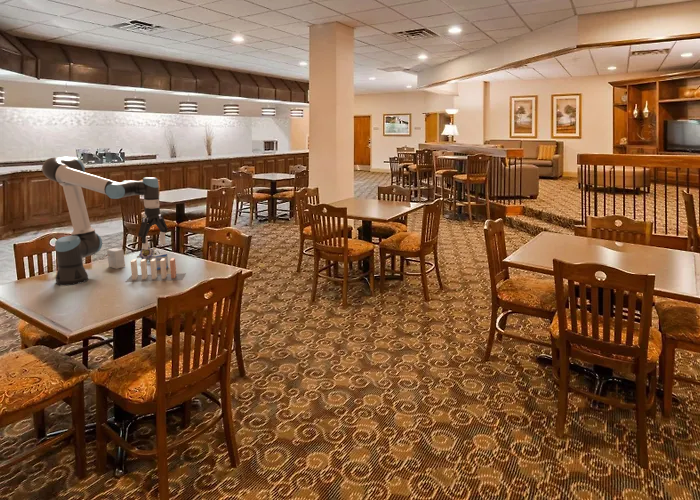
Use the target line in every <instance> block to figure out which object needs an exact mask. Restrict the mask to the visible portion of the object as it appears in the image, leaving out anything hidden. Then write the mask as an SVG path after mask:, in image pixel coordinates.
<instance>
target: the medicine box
mask: <svg viewBox="0 0 700 500" xmlns="http://www.w3.org/2000/svg"><path fill="white" fill-rule="evenodd" d="M156 254H157V255H152V256H151V260H152V259H156V267H157V271H161V266H160V260H161V259H162V258H165V259H166V269H168V268H169V259H168V253H165V252H164V253H163V252H162V253H161V252H160V254H159V253H156Z"/></svg>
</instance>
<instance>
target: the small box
mask: <svg viewBox="0 0 700 500" xmlns="http://www.w3.org/2000/svg"><path fill="white" fill-rule="evenodd" d="M106 253H107V254H106V255H107V262H108V263H107V264H108V267H109V268H113V269H116V270H117V269H121V268H125V267H126V262H125V254H124V253H125V252H124V249H123V248H116V247H113V248H109V249H107V250H106Z"/></svg>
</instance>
